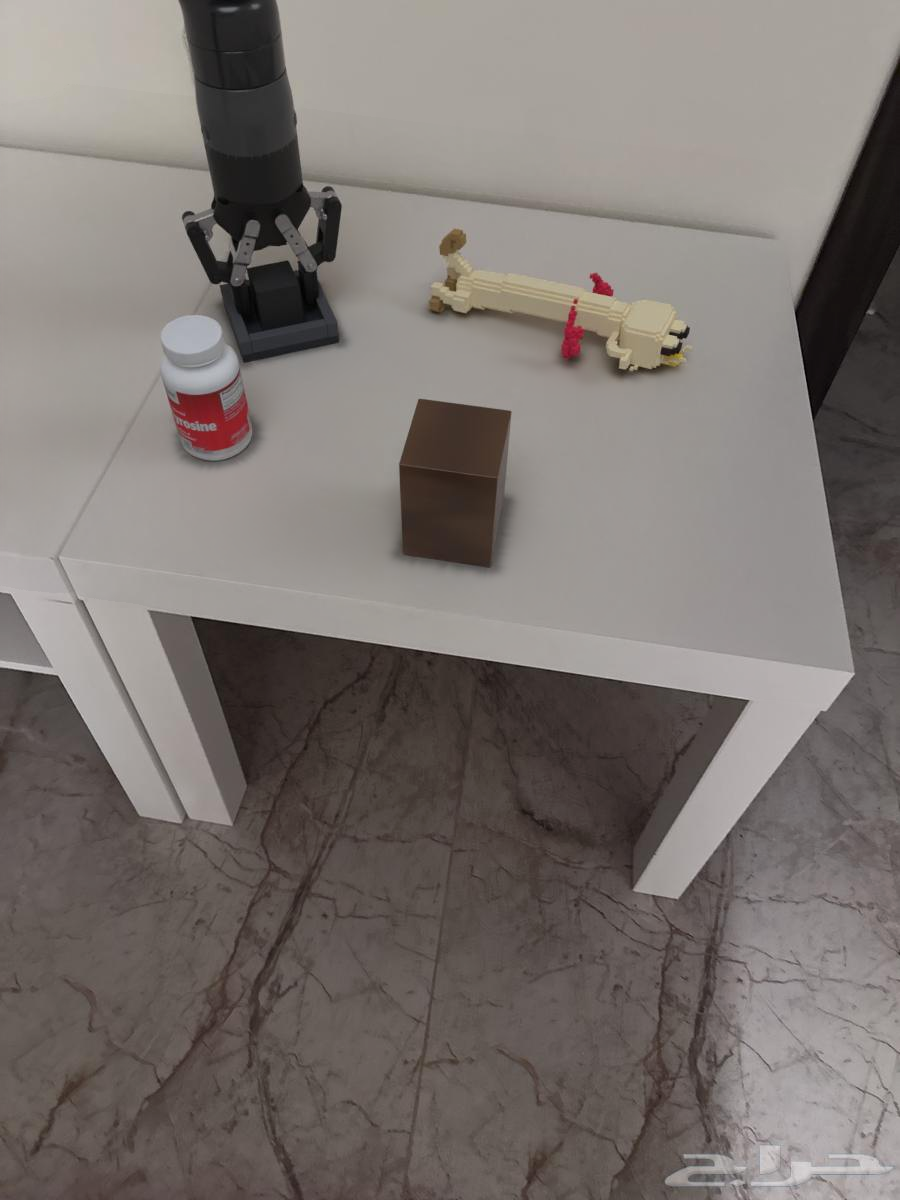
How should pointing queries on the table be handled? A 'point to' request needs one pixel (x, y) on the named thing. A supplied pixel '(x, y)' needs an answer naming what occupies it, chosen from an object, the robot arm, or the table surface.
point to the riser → (453, 481)
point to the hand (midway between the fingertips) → (277, 306)
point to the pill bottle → (204, 388)
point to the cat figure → (566, 309)
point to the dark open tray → (282, 340)
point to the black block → (275, 295)
